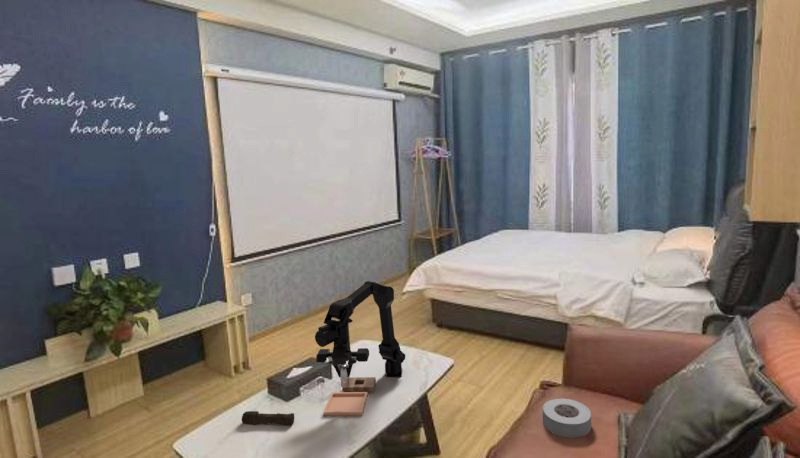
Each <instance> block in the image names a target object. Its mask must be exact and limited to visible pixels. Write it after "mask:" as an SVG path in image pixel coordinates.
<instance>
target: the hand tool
mask: <svg viewBox="0 0 800 458" xmlns="http://www.w3.org/2000/svg"><path fill="white" fill-rule="evenodd" d="M241 423H242V424H244V425H247V426H248V425H249V426H258V425H280V426H281V425H283V426H284V425H285V426H287V425H288V426H289V427H292V426H293V425H294V423H295V413H294V412H292V413H291V412H290V413H280V412H279V413H278V412H277V413H264V412H263V413H261V412H259V411H253V410H250V411H245V412H243V414H242V416H241Z"/></svg>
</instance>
